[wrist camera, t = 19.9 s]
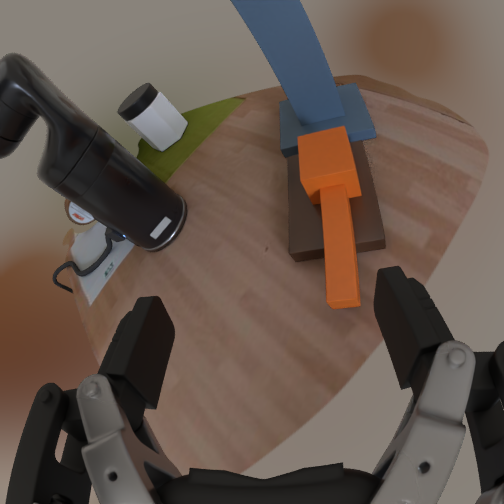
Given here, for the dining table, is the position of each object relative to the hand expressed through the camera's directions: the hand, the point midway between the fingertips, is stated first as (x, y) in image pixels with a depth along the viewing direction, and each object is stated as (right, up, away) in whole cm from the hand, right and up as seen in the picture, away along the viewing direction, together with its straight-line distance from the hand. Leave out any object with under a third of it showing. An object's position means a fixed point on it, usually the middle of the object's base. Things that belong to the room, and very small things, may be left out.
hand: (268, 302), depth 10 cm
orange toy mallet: (+7, +5, +15) cm, 18 cm away
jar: (-17, +25, +42) cm, 52 cm away
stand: (+9, +20, +24) cm, 32 cm away
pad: (+8, +7, +19) cm, 21 cm away
